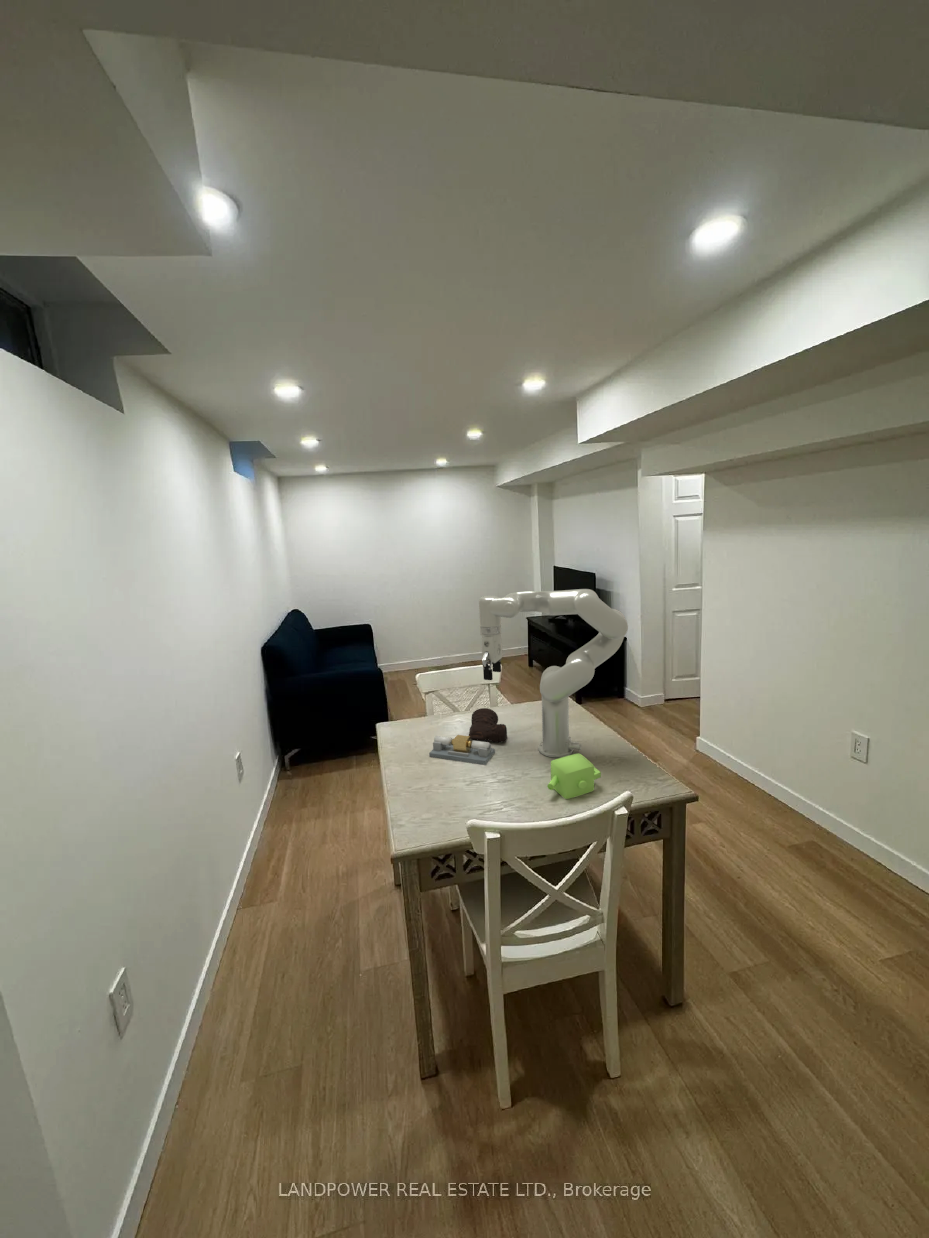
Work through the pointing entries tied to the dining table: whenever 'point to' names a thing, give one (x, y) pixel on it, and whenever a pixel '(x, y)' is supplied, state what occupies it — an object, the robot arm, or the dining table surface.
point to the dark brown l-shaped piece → (487, 726)
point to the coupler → (461, 743)
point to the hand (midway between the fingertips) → (492, 675)
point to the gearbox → (573, 776)
